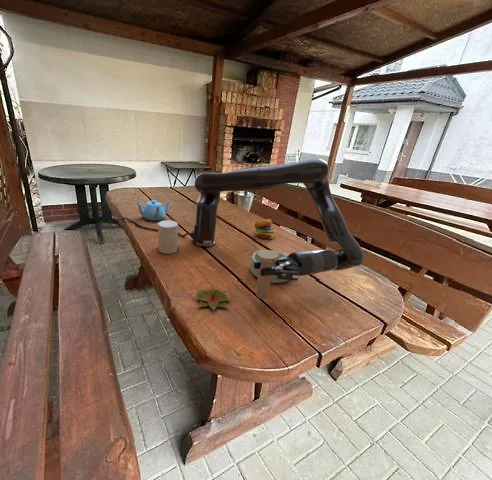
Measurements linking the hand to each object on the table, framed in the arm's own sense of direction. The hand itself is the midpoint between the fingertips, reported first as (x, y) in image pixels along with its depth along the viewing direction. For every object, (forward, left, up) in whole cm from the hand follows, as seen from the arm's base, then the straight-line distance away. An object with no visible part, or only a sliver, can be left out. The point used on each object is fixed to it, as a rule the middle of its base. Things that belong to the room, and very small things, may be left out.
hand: (257, 268), depth 78 cm
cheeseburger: (+5, +60, -13) cm, 62 cm away
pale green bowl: (+7, +22, -13) cm, 27 cm away
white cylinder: (-37, +29, -13) cm, 49 cm away
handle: (+3, +1, -11) cm, 11 cm away
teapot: (-57, +65, -13) cm, 87 cm away
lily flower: (-13, -1, -13) cm, 18 cm away
